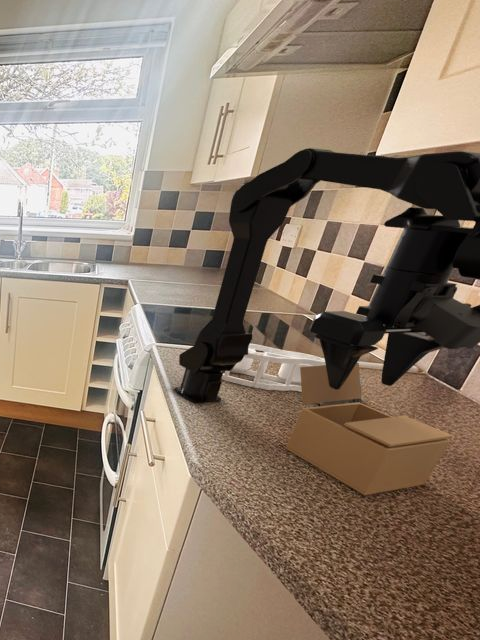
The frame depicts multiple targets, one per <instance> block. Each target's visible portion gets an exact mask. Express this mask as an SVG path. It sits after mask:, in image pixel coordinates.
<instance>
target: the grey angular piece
mask: <svg viewBox="0 0 480 640" xmlns="http://www.w3.org/2000/svg"><path fill="white" fill-rule="evenodd" d="M362 384H363V377H360V388H361V399H351V400H341V401H332V402H322V403H316V404H317V405H320V406H329V405H338V404H348V403H357V402H359V403H362V404H363V401H362V397H363V396H362V395H363V393H362V392H363V391H362Z"/></svg>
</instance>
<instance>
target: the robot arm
mask: <svg viewBox="0 0 480 640" xmlns="http://www.w3.org/2000/svg"><path fill="white" fill-rule="evenodd" d="M320 182H328V183H334V184H340V185H346V186H354V187H361V188H366V189H367V188H368V189H374V190H380V191H382V192H386V193H388V194H390V195H391V196H393V197H395V198H396V199H398V200H401V201H403V202H406V203H409V204H411V205H413V206H416V207H408V208H407V209H405V210H404V211H403V212H401V213H399V214H397V215H395V216H393V217H391V218H390V219H389V218H388V220H386V221H384V224H383V226H384V227H385V228H394V229H395V228H396V229H402V231H401V235H400V236H399V239H398V241H397V243H396V245H395V246H394V249H393V252H392V254H391V255H390V258H389V260H388V262H387V265H386V266H385V269H384V271H383V272H382V274H372V277H371V279H370V280H369V281H370V282H369V283H370V284H376V285H377V286H376V288H375V290H374V293H373V295H372V297H371V299H370V302H369V304H368V305H359V306H358V308H357V310H356V312H355V313H353V312H350V311H346V310H338V311H335V310H334V311H333V310H332V311H331V310H329V311H326V310H325V311H322V312H320V313H319V314H316V315H314V317H313V320H312V322H311V324H310V327H309V329H308V331H309V332H311V333H314V338H316V339H318V340H319V343H320V346H321V347H320V348H321V350H322V354H323V359H325V364H326V369H327V375H328V381H329V386H330V387H331V388H333V389H336V390H338V389H340V388H341V386H342V385H343V384H344V382H345V381H346V379H347V378H348V376H349V375H350V373H351V371H352V370H353V368H354V367H355V365H356V363H359V360H360V359H361V357H363V356H365V355H367V354H368V353H372V352H374V351H376V350H378V349H379V347H377V346H375V345H376V344H378V343H379V342H380V341H382V340H383V338H384V336H385V334H386V335H387V339H386V347H385V351H384V358H383V364H382V371H381V381H380V383H381V384H382V385H385V386H388V387H392V386H394V384H395V383H397V382H398V381H399V380H400V379H401V378H402V377H403V376H404V375H405V374H406V373H408V371H410V369H412V368H413V367H414V366H415V365H416V364H417V363H418V362H419V361H420V360H421V359H423V358H425V356H426V355H428V354H429V353H432V352H436V351H439V350H442V349H448V350H457V349H459V348H461V349H462V348H467V349H474V348H475V347H476V346H477V345H479V344H480V304H478V305H476V306H472V304H471V303H466V302H465V303H463V302H461V301H459V300H457V299H456V298H454V297H455V295H456V293H457V291H458V287H457V285H458V283H453V282H449V280H450V278H451V276H452V274H453V273H454V270H455V269H458V273H459V275H460V277H461V278H465V279H471V280H477V281H480V152H474V151H473V152H472V151H462V150H461V151H460V150H457V151H446V152H445V151H444V152H435V153H424V154H419V155H412V156H404V157H394V156H393V157H391V156H382V155H381V156H379V155H371V154H370V155H369V154H356V153H347V152H346V153H345V152H336V151H333V150H331V149H324V148H313V147H309V148H304V149H301V150H298V151H297V152H295V153H294V154H293V155H292V156H290V157H289V158H288V159H286V160H284V161H283V162H282V163H279V164H277V165H275V166H273V167H272V168H270V169H267V170H265V171H263V172H262V173H259V174H258V175H256V176H255V177H254V178H252V179H251V180H250V181H248V182H246V183H244V184H243V185H241V186H240V187H239V189H237V190H235V192H234V194H233V196H232V198H231V202H230V208H229V217H228V223H229V227H230V230H231V233H232V237H233V239H232V245H231V248H230V251H229V255H228V258H227V259H228V260H227V263H226V266H225V269H224V270H225V271H224V273H223V278H222V281H221V286H220V288H219V291H218V296H217V299H216V303H215V306H214V311H213V315H212V317H211V319H209V321H208V322H207V323H206V324H205V325H204V327H202V328H201V330H200V331H199V333H198V334H197V338H196V340H195V342H194V345H193V346H191V347H189V348H188V349H186V350H185V351H183V352H182V353H180V354H179V356H178V357H179V358H178V359H179V361H178V362H179V366H181V367H183V368H184V373H183V377H182V380H181V384H180V386H177V387H173V391H174V392H176V393H178V394H179V395H181V396H182V397H184V398H186V399H187V400H189V401H191V402H192V403H194V404H201V403H211V402H220V401H222V398H221V397H220V396H219V392H220V389H221V386H222V382H223V380H222V379H221V378H222V375H223V374H224V373H223V372H225V371H231V370H232V369H233V367H234V366H235V365H236V364H237V363H238V362H241V361H242V359H243V357H244V355H248V347H249V344H250V343H251V342H252V340H253V333H249V332H247V331H246V328H245V325H244V320H245V316H246V313H247V309H248V306H249V303H250V300H251V296H252V292H253V290H254V287H255V282H256V280H257V276H258V273H259V269H260V266H261V262H262V260H263V257H264V254H265V249H266V246H267V243H268V242H269V240H270V238H271V237H273V235H274V234H275V233H276V232H277V230H278V229H279V228H280V227H281V226H282V225H283V224H284V222H285V219H286V218H287V216H288V214H289V212H290V209H291V207H293V206H294V205H296V204H297V203H299V202H300V201H301V200H303V199H305V198H306V197H307V196H308V195H309V194H310V193H311V191H312V190H313V188H314V187H315V186H316V185H317V184H318V183H320ZM425 209H426V210H436V211H437V212H438V213H439V214H441V215H437V214H427V212H426V211H425ZM460 221H466V222H474V225H473V227H465V226H461V224H460Z"/></svg>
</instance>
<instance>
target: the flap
mask: <svg viewBox="0 0 480 640" xmlns="http://www.w3.org/2000/svg"><path fill="white" fill-rule="evenodd" d="M300 373H301V388H302V392H301V400H302V405H312V404H317V403H322V402H332V401H341V400H351V399H361V400H362V397H361V393H362V392H361V389H362V387H361V388H360V379H361V373H360V363H359V362H357V363H356V365H355V367H354V368H353V370H352V371H351V373H350V375H349V376H348V378H347V379H346V381H345V382H344V384H343V385H342V386H341V388H340V389H338V390H336V389H333V388H331V387H330V386H329V381H328V375H327V369H326V365H321V366H308V367H300Z"/></svg>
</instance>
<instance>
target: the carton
mask: <svg viewBox="0 0 480 640" xmlns="http://www.w3.org/2000/svg"><path fill="white" fill-rule="evenodd" d="M453 437H454V435H453V434H450V433H448V432H445V431H442V430H440V429H438V428H436V427H433V426H431V425H428V424H426V423H423V422H421V421H419V420H416V419H413V418H411V417H409V416H406V415H398V416H394V415H393V416H392V415H390V414H388V413H385V412H384V411H381V410H378V409H376V408H374V407H371V406H368V405H366V404H363V402H362V403H359V402H357V403H348V404H338V405H329V406H321V405H320V406H319V405H318V406H309V407H302V408H301V411H300V413H299V415H298V418H297V420H296V422H295V424H294V427H293V429H292V432H291V434H290V436H289V439H288V441H287V443H286V446H285V449H286V451H289V452H291V453H292V454H294V455H295V456H298V457H299V458H300V459H302V460H304V461H306V462H307V463H309V464H311V465H312V466H314V467H316V468H317V469H319V470H321V471H323V472H324V473H325V474H328V475H329V476H331V477H333V478H334V479H336V480H338V481H339V482H341V483H343V484H344V485H346V486H348V487H349V488H351V489H353V490H354V491H356V492H357V493H359V494H361V495H363V496H369V495H374V494H379V493H386V492H390V491H397V490H400V489H401V490H402V489H408V488H412V487H418V486H424V485H426V483H427V482H428V480H429V479H430V476H431V475H432V474H433V472H434V471H435V468H436V466H437V465H438V463H439V462H440V460H441V459H442V457H443V455H444V453H445V452H446V450H447V448H448V447H449V446H450V444H451V442H452V440H450V439H452V438H453Z"/></svg>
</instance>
